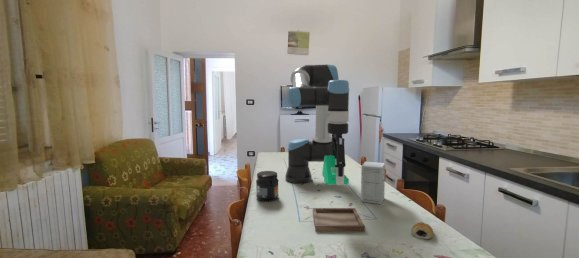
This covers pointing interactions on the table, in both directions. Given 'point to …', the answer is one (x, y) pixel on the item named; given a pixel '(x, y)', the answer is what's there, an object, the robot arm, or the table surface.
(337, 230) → the tray
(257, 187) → the supplement container
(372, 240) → the table surface
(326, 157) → the camera mount
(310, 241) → the table surface
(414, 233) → the pastry
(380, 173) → the supplement box
